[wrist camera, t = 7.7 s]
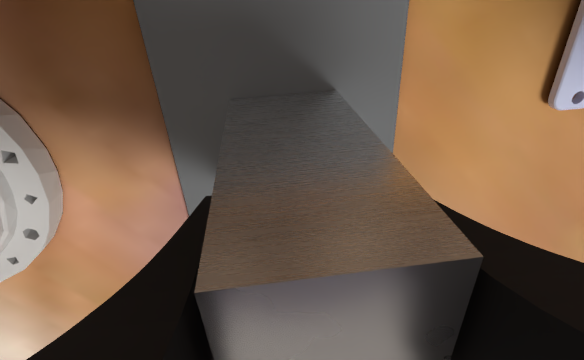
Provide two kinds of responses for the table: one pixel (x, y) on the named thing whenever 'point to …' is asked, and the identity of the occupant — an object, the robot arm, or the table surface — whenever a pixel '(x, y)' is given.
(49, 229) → the mechanical component
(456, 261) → the alloy block
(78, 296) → the table surface
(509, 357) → the robot arm
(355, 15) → the rubber mat
